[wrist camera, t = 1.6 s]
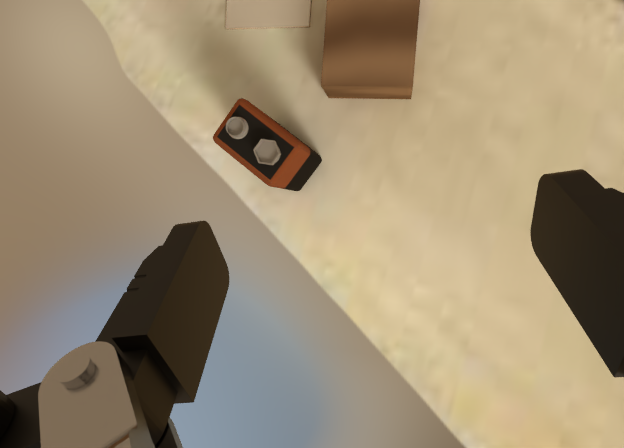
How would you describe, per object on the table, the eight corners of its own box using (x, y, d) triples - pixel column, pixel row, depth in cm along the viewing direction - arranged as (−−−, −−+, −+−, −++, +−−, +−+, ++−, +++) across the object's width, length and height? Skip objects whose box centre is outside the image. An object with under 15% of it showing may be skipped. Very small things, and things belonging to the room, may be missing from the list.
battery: (298, 193, 40) (267, 188, 30) (249, 153, 41) (203, 136, 31) (324, 159, 39) (301, 142, 29) (273, 119, 40) (234, 91, 30)
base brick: (336, -5, 38) (329, -30, 34) (419, -9, 37) (422, -35, 33) (328, 97, 39) (321, 85, 35) (410, 98, 37) (412, 85, 33)
